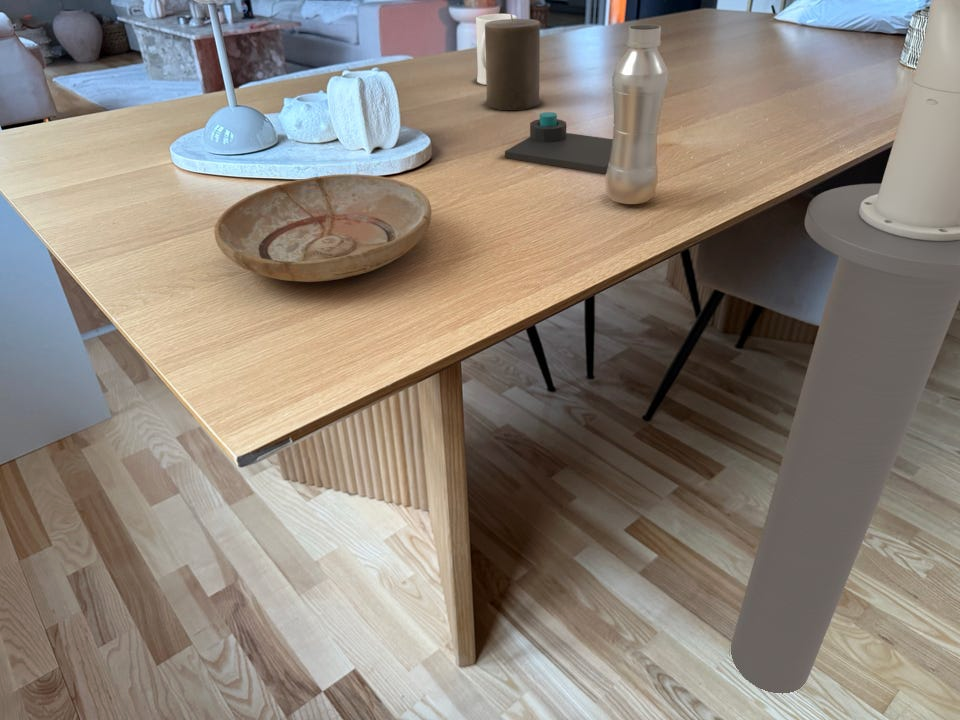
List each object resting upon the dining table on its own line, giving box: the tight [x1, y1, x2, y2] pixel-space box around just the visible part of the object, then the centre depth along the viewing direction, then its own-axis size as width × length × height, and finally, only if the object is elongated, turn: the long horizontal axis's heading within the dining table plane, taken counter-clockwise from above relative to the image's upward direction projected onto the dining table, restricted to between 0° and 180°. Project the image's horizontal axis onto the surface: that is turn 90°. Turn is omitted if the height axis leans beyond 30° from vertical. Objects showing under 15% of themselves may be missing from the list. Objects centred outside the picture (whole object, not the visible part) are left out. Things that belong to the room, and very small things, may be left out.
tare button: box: [539, 111, 558, 127], centre depth 107 cm, size 3×3×2 cm
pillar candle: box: [485, 14, 541, 111], centre depth 124 cm, size 10×10×15 cm
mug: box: [475, 13, 518, 86], centre depth 140 cm, size 12×8×12 cm
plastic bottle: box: [604, 23, 669, 205], centre depth 83 cm, size 6×7×20 cm
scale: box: [504, 118, 613, 175], centre depth 103 cm, size 16×12×3 cm
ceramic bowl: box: [213, 173, 432, 283], centre depth 77 cm, size 23×24×5 cm
